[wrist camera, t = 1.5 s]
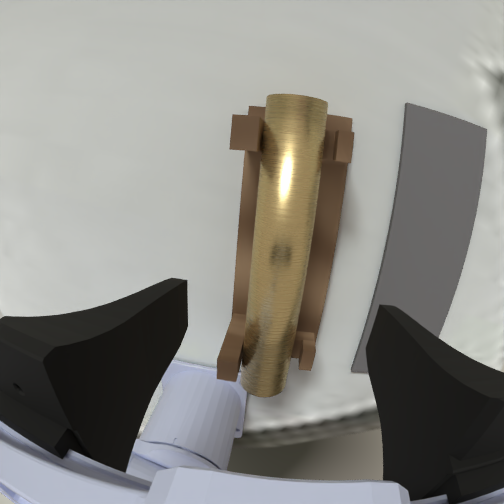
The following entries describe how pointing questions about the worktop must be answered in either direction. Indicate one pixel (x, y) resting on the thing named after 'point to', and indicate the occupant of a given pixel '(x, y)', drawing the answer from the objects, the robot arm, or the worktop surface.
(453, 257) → the mat
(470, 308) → the worktop surface
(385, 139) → the worktop surface
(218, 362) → the hook stand
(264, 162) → the rail
